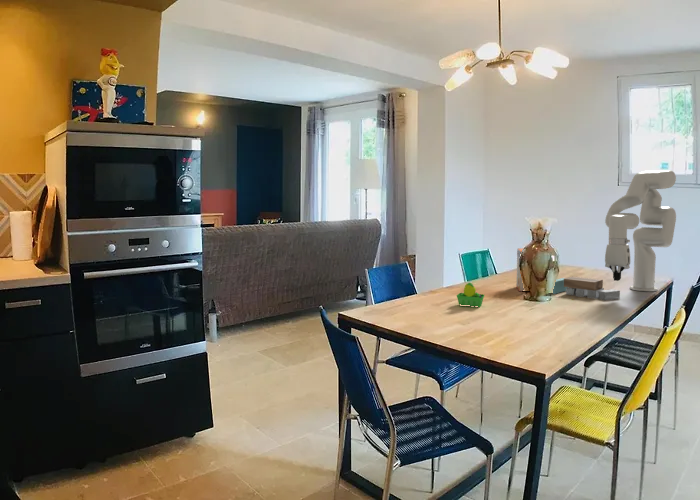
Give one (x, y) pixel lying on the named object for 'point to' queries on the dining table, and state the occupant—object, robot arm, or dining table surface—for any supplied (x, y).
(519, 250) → the cracker box
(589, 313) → the dining table surface
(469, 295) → the fruit basket
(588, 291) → the bar
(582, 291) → the bar
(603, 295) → the bar
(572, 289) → the bar
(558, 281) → the block
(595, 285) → the board
